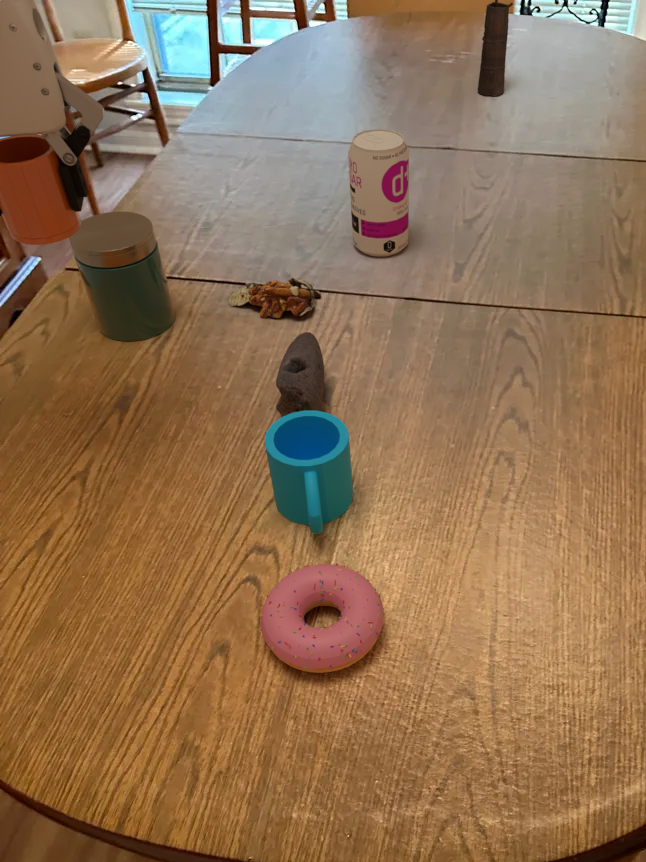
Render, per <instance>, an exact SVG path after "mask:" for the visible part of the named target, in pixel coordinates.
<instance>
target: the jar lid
mask: <svg viewBox="0 0 646 862" xmlns="http://www.w3.org/2000/svg"><path fill="white" fill-rule="evenodd" d="M68 240H69V243H70V246H71V250H72V251H73V256H74V255H75V257H76V258H77V259H78V260H79V261H80V262H81V263H83V264H86V265H88V266H92V267H100V268H112V267H120V266H125V265H129V264H132V263H135V262H137V261H140V260H142V259H144V258H145V257H147V256H148V255H149V254H151V253H152V252H153V250H154V249H155V247H156V240H157V237H156V234H155V229H154V226H153V223H152V221H151V220H150V219H149V218H148V217H146V216H145V215H143V214H140V213H137V212H133V211H109V212H103V213H99V214H95V215H91V216H89V217H85V218H84V219H82V220H81V226H80V228H79V230H78V231H77V232H76V233H75V234H73V235H72V236H70V237H68ZM75 257H74V258H75Z"/></svg>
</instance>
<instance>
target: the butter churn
mask: <svg viewBox="0 0 646 862" xmlns="http://www.w3.org/2000/svg"><path fill="white" fill-rule="evenodd" d="M513 5H514V2H510V3H509V4H507V3H503V2H499V0H494V1H492V2H490V3H488V4H487V5H486V9H485V18H484V24H483V29H484V30H483V36H482V38H481V40H482V46H481V56H480V66H479V76H478V82H477V93H478V94H480V95H483V96H491V97H497V96H501V95H503V94H504V92H505V75H506V74H505V73H506V57H507V47H508V35H509V21H510V20H509V14H510V13H509V12H510V8H512V6H513Z"/></svg>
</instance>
